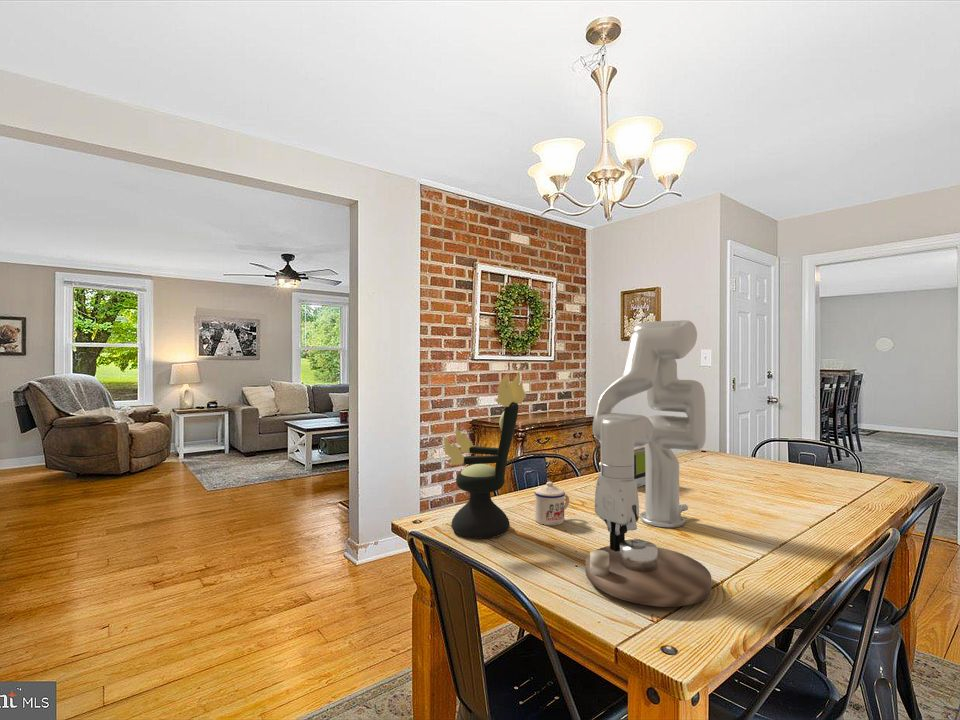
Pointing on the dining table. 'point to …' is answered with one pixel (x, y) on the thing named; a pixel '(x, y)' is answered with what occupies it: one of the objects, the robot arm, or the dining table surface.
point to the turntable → (650, 579)
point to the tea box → (639, 465)
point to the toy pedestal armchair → (485, 470)
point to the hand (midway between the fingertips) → (617, 549)
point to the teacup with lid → (550, 504)
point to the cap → (638, 555)
